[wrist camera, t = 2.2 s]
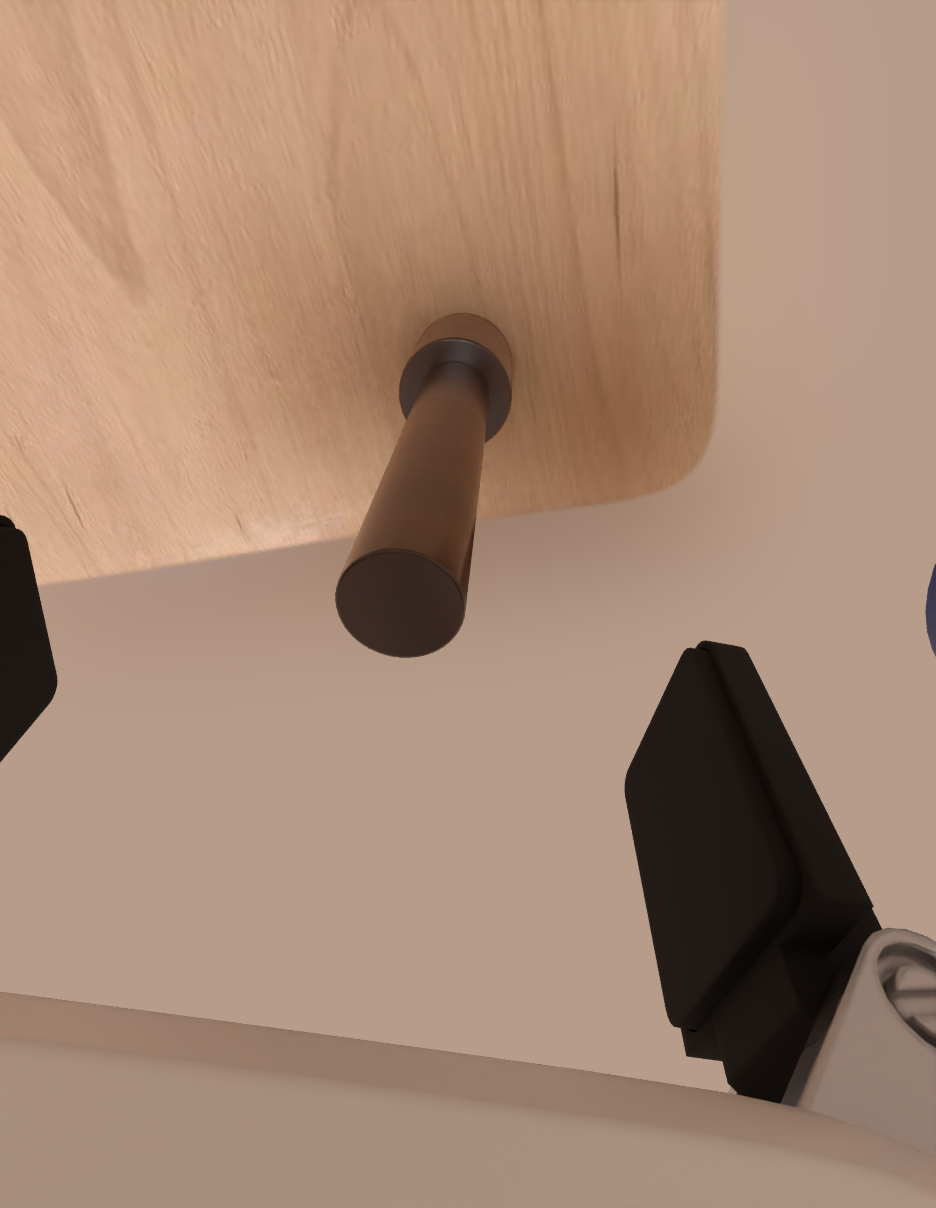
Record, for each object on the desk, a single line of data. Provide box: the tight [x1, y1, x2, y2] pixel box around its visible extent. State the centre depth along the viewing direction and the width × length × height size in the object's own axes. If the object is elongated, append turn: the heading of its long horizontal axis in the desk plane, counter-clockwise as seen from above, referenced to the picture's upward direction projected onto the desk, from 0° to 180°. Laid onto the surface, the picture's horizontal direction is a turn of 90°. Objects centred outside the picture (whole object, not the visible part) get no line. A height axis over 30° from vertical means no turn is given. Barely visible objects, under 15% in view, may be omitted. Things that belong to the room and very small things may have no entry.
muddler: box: [335, 313, 512, 658], centre depth 18 cm, size 4×4×16 cm
